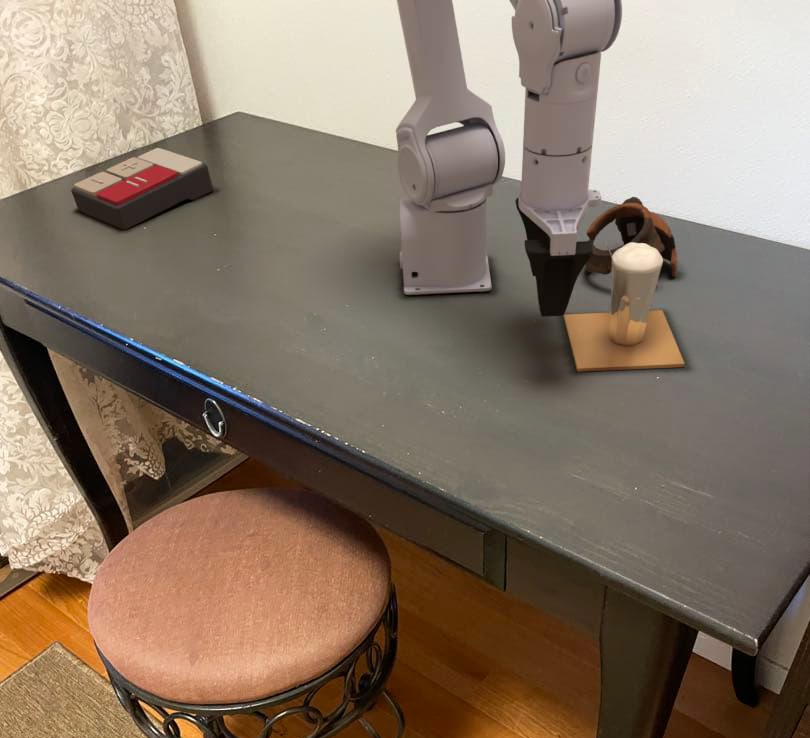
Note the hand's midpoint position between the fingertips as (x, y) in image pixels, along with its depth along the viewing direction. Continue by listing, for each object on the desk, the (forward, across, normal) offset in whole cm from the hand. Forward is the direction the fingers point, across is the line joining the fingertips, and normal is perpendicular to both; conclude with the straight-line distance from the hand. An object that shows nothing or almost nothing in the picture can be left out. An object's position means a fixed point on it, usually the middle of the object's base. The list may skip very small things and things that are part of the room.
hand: (547, 293), depth 80 cm
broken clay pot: (+6, +15, -11) cm, 19 cm away
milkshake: (+5, 0, -8) cm, 9 cm away
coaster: (+6, 0, -8) cm, 9 cm away
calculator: (+6, +41, +49) cm, 64 cm away
